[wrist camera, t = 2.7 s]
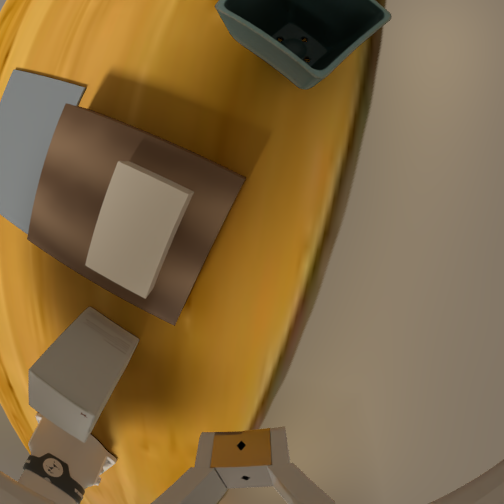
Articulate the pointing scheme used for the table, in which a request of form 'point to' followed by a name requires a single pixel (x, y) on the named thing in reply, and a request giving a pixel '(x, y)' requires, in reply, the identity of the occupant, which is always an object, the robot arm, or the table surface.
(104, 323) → the supplement box
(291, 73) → the flower pot
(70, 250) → the board
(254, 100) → the table surface
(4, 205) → the mat
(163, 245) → the beige rectangular block
